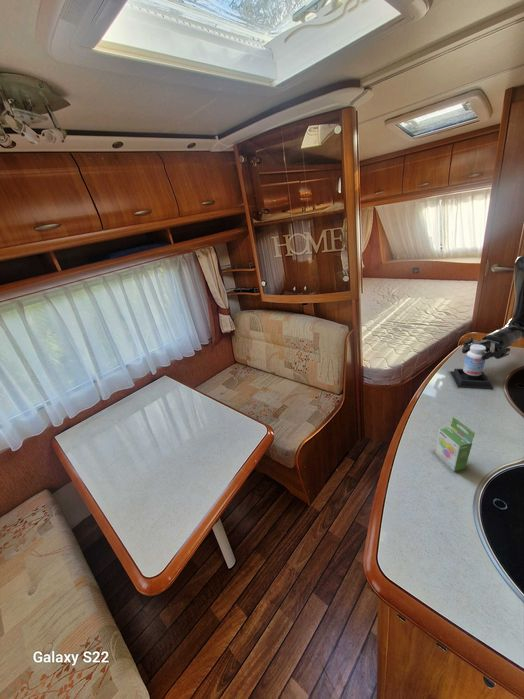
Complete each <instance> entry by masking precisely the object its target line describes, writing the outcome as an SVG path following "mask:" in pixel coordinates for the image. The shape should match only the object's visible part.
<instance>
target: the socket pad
mask: <svg viewBox="0 0 524 699" xmlns="http://www.w3.org/2000/svg"><path fill="white" fill-rule="evenodd" d="M449 372H450V376H451V377H452V379H453V381H454V383H455V385H456V387H457V388H458V389H459V388H461V389H477V390H494V387H493V386H492V384H491V381H490V379H489V378H488V377H487V376H486V374H485V372H484V371H483V372H482V374H481V375H478V376H472V375H468V374H466V373H465V372H464V371H463V368H454V369H453V371H452V370H451V371H449Z"/></svg>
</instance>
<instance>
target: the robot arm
mask: <svg viewBox="0 0 524 699" xmlns="http://www.w3.org/2000/svg"><path fill="white" fill-rule="evenodd" d="M513 283H514V284H513V285H514V305H513V311H512V317H511V318H510V319H508V321H506V323H505V325H504V326H503V327H501V328H499V329H496V330H495V331H493V332H490V333H488V334H487V335H485V336H483V338H482V339H478V340H475V339H474V338H473V337H469V338H468V339H466V340H465V341H464V342H463V346H462V349H461V353H462V354H464V355H466V354H467V352H468V351H469V350H470V346H471V345H473V344H479V345H483V346H485V347H486V350H485V353H484V354H483V355H482V358H481V359H482V360H485V359H486V360H489V359H492V358H494V359H496V360H499V359H502V358H505V357H507V356H509V355H510V353H511V348H510V346H512V345H514V343H517V342H518V341H520V340H521V339H524V254H522V255H520V256H518V257H517V258H516V259H515V261H514V265H513ZM486 360H485V361H486Z"/></svg>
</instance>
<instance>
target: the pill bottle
mask: <svg viewBox="0 0 524 699" xmlns="http://www.w3.org/2000/svg"><path fill="white" fill-rule="evenodd" d="M485 350H486V347H485V346H483V345H479V344H473V345H471V346H470V350H469V351H468V352H467V353H465V358H464V363H463V367H462V369H463V371H464V372H465V373H466V374H468V375H472V376H478V375H481V374H482V372H483V373H484V368H485V363H486V360H487V359H485V360H482V359H481V358H482V355H483V354H484V353H486V352H485Z"/></svg>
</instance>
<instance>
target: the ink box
mask: <svg viewBox="0 0 524 699" xmlns="http://www.w3.org/2000/svg"><path fill="white" fill-rule="evenodd" d="M459 426H460V427H461V428H460V427H459ZM463 429H465V430H463ZM465 431H466V432H465ZM475 434H476V433H475V431H473V430H472V429H471V428H469V427H468V426H467V425H465V424H464V423H463V422H461V421H460V420H459V419H457V418H456V417H455V416H452V420H451V424H450V426H446V427H444V428H443V427H442V428H440V429H439V430H438V434H437V440H436V441H437V442H436V448H435V455H436V456H437V457H438V458H439V459H440V460H441V461H442V462H443V463H444V464H445V465H446V466H447V467H448V468H449V469H450V470H451V471H452V472H453V473H454V472H457V471H461V470H465V469H466V468H467V464H468V461H469V456H470V453H471V449H472V446H473V440H474V437H475Z"/></svg>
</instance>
